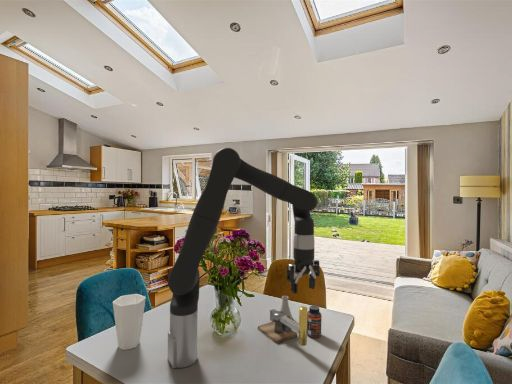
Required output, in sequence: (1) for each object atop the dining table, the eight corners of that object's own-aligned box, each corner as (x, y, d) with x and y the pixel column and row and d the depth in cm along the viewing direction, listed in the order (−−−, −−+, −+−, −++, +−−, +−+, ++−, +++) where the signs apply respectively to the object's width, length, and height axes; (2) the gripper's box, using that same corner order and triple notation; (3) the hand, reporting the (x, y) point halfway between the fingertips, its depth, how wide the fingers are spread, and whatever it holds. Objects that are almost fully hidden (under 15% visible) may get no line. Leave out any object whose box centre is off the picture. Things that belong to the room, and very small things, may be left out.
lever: (267, 323, 114) (267, 292, 114) (276, 320, 117) (276, 290, 117) (300, 347, 97) (301, 311, 97) (310, 343, 100) (310, 308, 100)
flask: (292, 315, 129) (292, 294, 128) (293, 323, 121) (293, 300, 121) (277, 314, 129) (277, 293, 129) (276, 322, 122) (277, 299, 122)
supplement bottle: (310, 339, 108) (310, 311, 108) (303, 332, 114) (304, 305, 114) (324, 337, 110) (324, 309, 110) (316, 330, 115) (317, 303, 115)
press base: (257, 329, 116) (257, 312, 116) (276, 322, 121) (277, 306, 121) (276, 343, 105) (277, 325, 105) (297, 335, 111) (297, 318, 111)
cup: (150, 343, 104) (150, 298, 104) (124, 356, 96) (124, 308, 96) (133, 334, 110) (133, 292, 110) (107, 345, 102) (108, 300, 102)
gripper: (296, 250, 92) (295, 298, 93) (325, 245, 100) (324, 289, 101) (282, 246, 99) (281, 291, 99) (310, 242, 107) (309, 283, 107)
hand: (303, 290), depth 100 cm, fingers open, 8 cm apart
